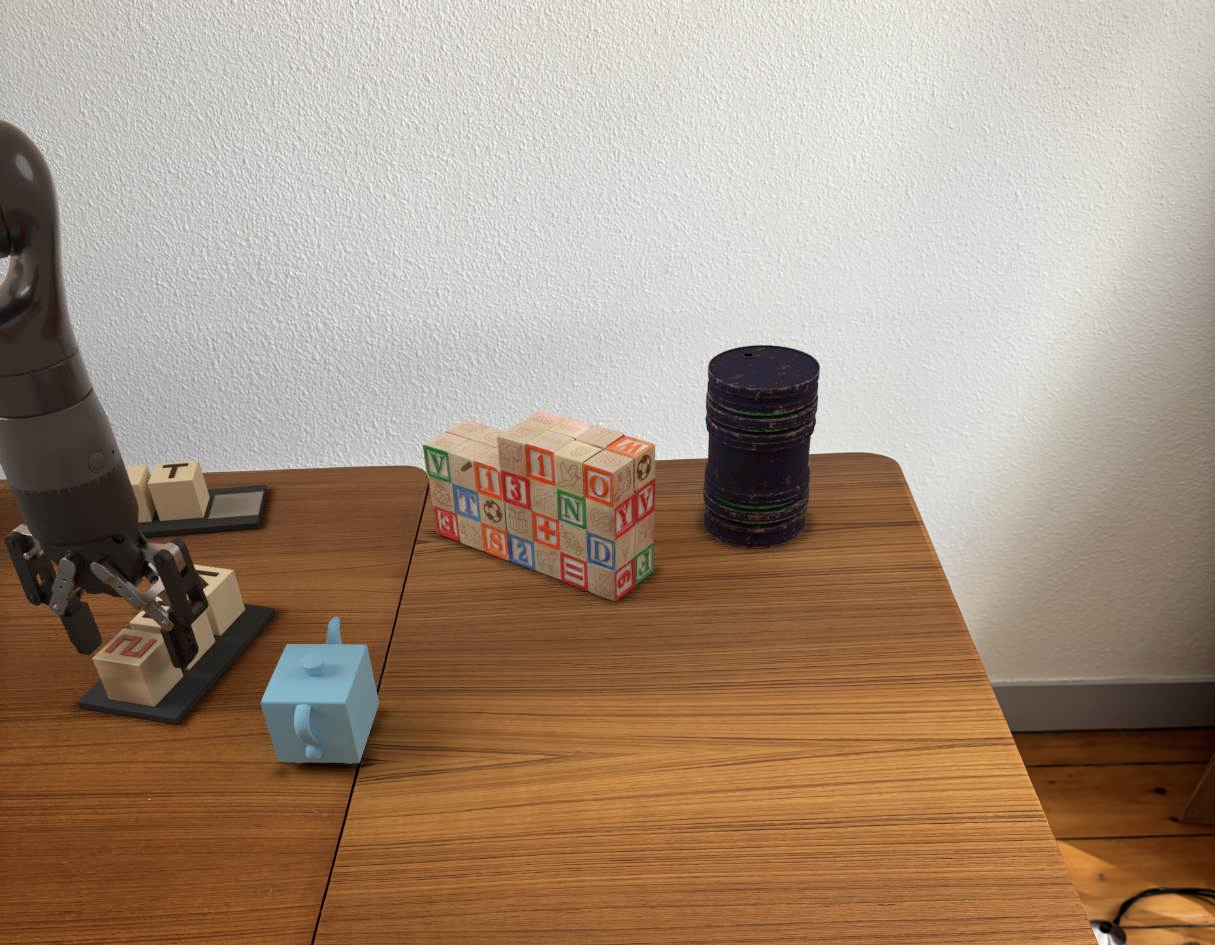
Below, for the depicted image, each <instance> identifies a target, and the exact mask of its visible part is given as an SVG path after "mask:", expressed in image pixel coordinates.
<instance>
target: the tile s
mask: <svg viewBox="0 0 1215 945" xmlns="http://www.w3.org/2000/svg"><path fill="white" fill-rule="evenodd" d="M92 661H93V664H94V666H95V669H96V671H97V674H98V676H99V679H100V678H101V681H102V683H103V685H104V688H105V690H106V693H107V695H108V697H109V699H111V700H117V701H123V702H129V703H135V704H141V705H147V706H152V707H155V706H156V705H157V704H158V703H159V702H160V701H161V700H162V699H163V698H164V697H165V695H166V694H167V693H168V692H169V691H170V690H171V689H172V688H173V687H174V686H175V685H176V684H177V683H178V681H179V680H180V679H181V678H182V677H183V674H182V671H181V669H180V668H175V667H173V664H172V662H171V659H170V656H169V654H168V651H167V648H166V645H165V643H164V640H163V637H162V634H157V633H150V632H144V631H137V630H132V629H130V628H122V629H121V630H120V631H118V633H116V635H114V637H112V638H111V639H110V640H109V641H108V642H107V643H106V644H105V645H104V646H103V647H102V648H101V649H100V650H99V651H98V652H96V654H95V655H94V656H93V657H92Z"/></svg>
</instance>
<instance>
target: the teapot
mask: <svg viewBox="0 0 1215 945" xmlns="http://www.w3.org/2000/svg"><path fill="white" fill-rule="evenodd" d="M340 631H341V618H340V617H339V616H334V617H332V618H331V619H330V620H329V622H328V624H327V630H326V639H325V643H286V645H285V647H284V649H283V651H282V654H281V656H280V658H279V660H278V662H277V664H276V666H275V669H274V671H273V673H272V675H271V677H270V680H269V681H268V684H267V686H266V689H265V691H264V694H263V696H262V698H261V701H260V707H261V710H262V713H263V717H264V720H265V723H266V727H267V731H268V734H269V737H270V741H271V744H272V747H273V750H274V754H275V757H276V761H277V763H296V764H306V763H319V764H320V763H321V764H322V763H324V764H325V763H326V764H327V763H328V764H329V763H330V764H331V763H332V764H345V765H352V764H360V763H361V760H362V757H363V754H364V751H365V748H366V745H367V743H368V740H369V735H370V733H371V730H372V726H373V723H374V721H375V717H376V714H377V711H378V708H379V705H380V700H379V696H378V691H377V685H376V682H375V677H374V676H375V675H374V671H373V666H372V663H371V657H370V653H369V652H370V651H369V648H368V645H367V644H365V643H364V644H351V643H350V644H345V643H343V642H342V638H341V632H340Z"/></svg>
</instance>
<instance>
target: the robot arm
mask: <svg viewBox="0 0 1215 945" xmlns="http://www.w3.org/2000/svg"><path fill="white" fill-rule="evenodd" d="M50 168H51V167H50V166H49V163H48V162H47V160H46V158H45V156H44V155H43V153H42V151H41V150H40V148H39V147H38V146H37V144H36V143H35V142H34V141H33V139H31V138H30V137H29V136H28V135H27V134H26V133H25V132H24V131H22V130H21V128H19V127H18V126H16V125H14V124H13V123H11V122H9V121H6V120H3V119H0V259H2V260H3V259H6V258H9V263H8V269H7V272H6V276H5V278H4V280H3V281H2V282H1V283H0V466H1V469H2V471H3V473H4V475H5V478H6V481H7V484H8V485H9V488H10V490H11V492H12V495H13V497H14V500H15V501H16V504H17V506H18V509H19V512H20V513H21V516H22V518H23V521H24V522H23V523H21V524H19V525H18V526H17V527H15V528H13V530H11V531H10V533H8V534H7V535H5V536H4V538H3V540H4V541H3V542H4V544H5V547H6V549H7V551H8V554H9V556H10V559H11V562H12V564H13V568H14V569H15V572H16V575H17V577H18V580H19V582H20V585H21V588H22V589H23V593H24V595H25V597H26V599H27V601H28V602H29V603H31V605H33V606H35V607H36V606H37V607H39V606H40V605H42V604H43V605H45V606H47V607H49V609H50V611H51V612H52V613H54V614H55V615H57V616H59V618H60V620H61V623H62V625H63V628H64V630H65V632H66V634H67V637H68V639H69V642H70V643H71V644H72V645H73V646H74V647H75V648H76V649H75V650H76V651H77V653H78V654H79V655H86V656H90V655H92V654H93V653H94V652H95V651H96V650H97V649H98V648H99V647H100V646H101V645H102V643H103V637H102V635H101V632H100V629H99V627H98V625H97V623H96V620H95V618H94V615H93V613H92V610H91V608H90V605H89V602H88V601H84V600H83V601H82V600H81V599H83V597H84V595H85V593H86V594H90V595H91V594H92V595H98V594H105V595H107V596H110V597H114V598H120V599H124V601H125V602H127V603H128V604H129V605H130V606H131V607H132V608H133V609H134V610H136V611H137V612H141V611H145V612H146V613H147V614H148V615H149V616H150V617H151V618H152V619H153V620H154V621H155V622H156V623H157V624H158V625H159V626H160V627H161V629H160V632H161V634H162V637H163V640H164V643H165V645H166V648H167V651H168V654H169V656H170V659H171V662H172V664H173V667H175V668H180V669H185V668H186V667H187V666H188V665H189V664H190V663H191V662H192V661H193V660H194V659H195V657H196V655H197V654H198V651H199V647H198V644H197V642H196V638H195V635H194V632H193V629H192V626H191V624H192V623H193V622H194V621H195V620H196V619H197V618H198V617H199V616H200V615H201V614H202V613H203V612H204V611H205V610H206V609H207V608H208V606H209V604H208V601H207V598H206V595H205V593H204V590H203V588H202V585H201V582H200V580H199V577H198V575H197V572H196V569H195V567H194V565H195V563H194V561H193V559H192V557H191V556H192V555H191V554H190V552H189V549H188V545H187V544H186V542H185V541H184V540H183V539H182V538H180V537H176V536H175V537H173V538H171V539H170V540H169V541H168V542H167V543H155V542H154V543H153V542H150V541H149V540H148V538H147V537H145V536H144V535H143V533H142V532H141V530H140V528H139V525H138V513H139V506H138V502H137V499H136V496H135V493H134V491H133V488H132V485H131V482H130V479H129V476H128V473H127V471H126V468H125V466H126V465H125V463H124V460H123V457H122V453H121V451H120V447H119V445H118V442H117V438H116V437H115V433H114V431H113V428H112V425H111V422H110V419H109V417H108V415H107V412H106V411H105V409H104V407H103V405H102V403H101V401H100V399H99V397H98V395H97V393H96V391H95V388H94V386H93V382H92V379H91V377H90V374H89V371H88V368H87V366H86V363H85V362H86V361H85V360H84V357H83V354H82V351H81V348H80V345H79V343H78V340H77V337H76V334H75V331H74V327H73V325H72V320H71V317H70V316H71V315H70V311H69V306H68V300H67V293H66V286H65V277H64V266H63V252H62V251H63V250H62V229H61V228H62V227H61V214H60V205H59V197H58V192H57V186H56V182H55V179H54V175H53V173H52V171H51V169H50ZM53 563H54V564H55V566H57V572H56V570H55V567H54V564H53ZM38 576H39V578H40V582H39V581H38V580H39V579H38ZM144 578H145V579H146V580H148V582H149V585H150V586H149V588H148V589H146V590H145V591H140V590H139V589H138V586H140V585H141V584H142V582H143V580H144ZM187 595H188V598H189V600H188V599H187ZM156 597H159V598H161V599H162V600H163V601H164V602H165V603H166V604H167V605H168V606H169V607H170V608H169V609H168V610H167V611H166V610H165V609H164V608H163V607H162V606H161V605H160V604H159V603H158V602H157V601H156Z"/></svg>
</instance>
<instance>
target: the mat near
mask: <svg viewBox="0 0 1215 945" xmlns="http://www.w3.org/2000/svg"><path fill="white" fill-rule="evenodd" d="M194 567H195V569H196V572H197V575H198V577H199V580H200V582H201V585H202V588H203V590H204V593H205V595H206V598H207V601H208V604H209V606H208V608H207V609H206V610H205V611H204V612H203V613H202V614H201V615H200V616H199V617H198V618H197V619H196V620H195V621H194V622H193V623H192V624H191V626H192V629H193V632H194V635H195V638H196V642H197V644H198V647H199V651H198V654H197V655H196V657H195V659H194V660H193V661H192V662H191V663H190V664H189V665H188V666H187V667H186V668H185V669H181V671H182V674H183V677H182V678H181V679H180V680H179V681H178V683H177V684H176V685H175V686H174V687H173V688H172V689H171V690H170V691H169V692H168V693H167V694H166V695H165V697H164V698H163V699H162V700H161V701H160V702H159V703H158V704H157V705H156V706H155V707H152V706H147V705H141V704H135V703H129V702H123V701H117V700H111V699H109V697H108V695H107V693H106V690H105V688H104V685H103V683H102V681H101V678H100V677H99V679H98V680H97V681H96V682H95V683H94V684H93V685H92V686H91V687H90V688H89V689H88V690H87V691H86V692H85V693H84V694H83V695H82V696H81V697H80V698H79V699H78V700H77V701H76V704H77V706H78V708H79V709H86V710H89V711H90V710H91V711H97V712H102V713H108V714H114V715H120V716H125V717H126V716H127V717H130V718H131V717H132V718H138V719H143V720H149V721H155V722H160V723H166V724H172V725H179V724H180V723H181V722H182V720H183V719H185V717H187V715H188V714H189V713H190V711H192V710H193V708H194V707H195V706H196V705H197V704H198V703H199V701H200V700H201V699H202V698H203V697H204V696H205V695H206V694H207V692H209V691H210V689H211V688H212V687H213V685H214V684H216V682H217V681H218V680H219V679H220V678H221V677H222V675H223V674H224V673H225V672H226V671H227V670H228V669H229V668H230V667H231V665H232V664H233V663H234V662H235V661H236V660H237V659H238V657H240V655H241V654H242V653H243V652H244V651H245V650H246V649H247V647H248V646H249V645H250V644H251V643H252V642H253V641H254V639H255V638H256V637H257V636H258V635H259V634H260V633H261V632H262V630H263V629H264V628H265V627H266V626H267V625H268V624H269V622H271V620H272V619H273V618H275V616H276V615H277V610H276V608H275V607H271V606H263V605H258V604H257V605H256V604H250V603H244V600H243V598H242V597H243V596H242V594H241V590H240V587H239V583H238V580H237V577H236V574H235V570H234V569H230V568H223V567H214V566H208V565H201V564H194ZM187 599H188V600H189V598H188V595H187ZM156 601H157V602H158V603H159V604H160V605H161V606H162V607H163V608H164V609H165V610H166V611H167V610H168V609H169V608H170V607H169V606H168V605H167V604H166V603H165V602H164V601H163V600H162V599H161V598H159V597H156ZM129 624H130V628H131V630H137V631H144V632H150V633H157V634H161V632H160V629H161V627H160V626H159V625H158V624H157V623H156V622H155V621H154V620H153V619H152V618H151V617H150V616H149V615H148V614H147V613H146V612H145V611H139V612H138V613H137V615H135V616H134V617H133V619H132V620H130V621H129Z"/></svg>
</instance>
